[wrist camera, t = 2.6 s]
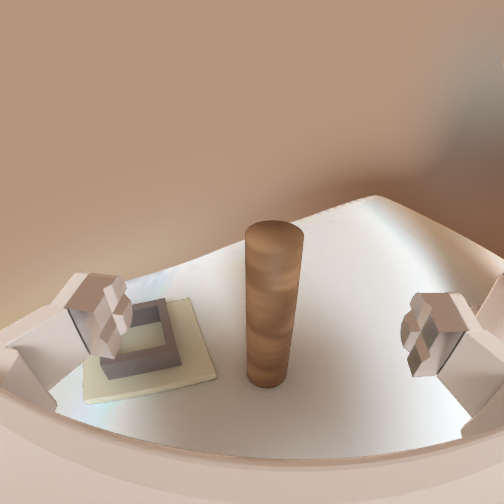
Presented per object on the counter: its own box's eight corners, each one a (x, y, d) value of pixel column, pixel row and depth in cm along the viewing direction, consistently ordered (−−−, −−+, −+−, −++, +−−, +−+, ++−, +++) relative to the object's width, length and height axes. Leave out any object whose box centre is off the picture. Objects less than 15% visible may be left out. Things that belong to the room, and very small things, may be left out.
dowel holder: (190, 303, 38) (186, 282, 36) (216, 378, 29) (213, 357, 27) (87, 325, 34) (77, 305, 32) (87, 404, 24) (73, 386, 23)
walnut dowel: (276, 352, 32) (287, 217, 23) (292, 380, 29) (314, 242, 20) (241, 363, 30) (237, 225, 22) (255, 393, 27) (258, 254, 19)
